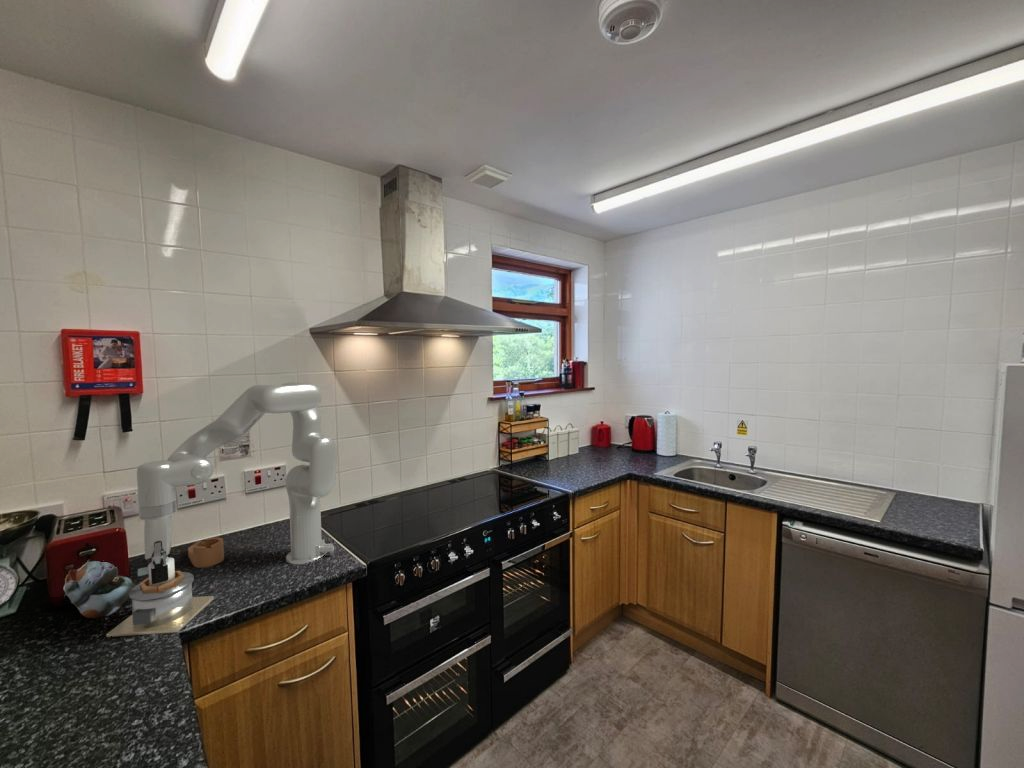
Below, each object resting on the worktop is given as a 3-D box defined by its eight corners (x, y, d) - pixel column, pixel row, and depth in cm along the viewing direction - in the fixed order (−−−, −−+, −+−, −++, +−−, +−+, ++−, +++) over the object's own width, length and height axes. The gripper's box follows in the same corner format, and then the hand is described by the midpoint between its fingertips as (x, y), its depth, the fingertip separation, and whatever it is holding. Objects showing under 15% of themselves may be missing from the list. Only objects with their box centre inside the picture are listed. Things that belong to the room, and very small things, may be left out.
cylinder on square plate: (213, 599, 119) (212, 563, 119) (177, 634, 104) (175, 592, 104) (152, 603, 118) (150, 566, 117) (106, 638, 103) (103, 596, 102)
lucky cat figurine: (100, 624, 108) (91, 571, 107) (50, 629, 108) (41, 576, 107) (147, 591, 123) (140, 545, 122) (104, 595, 123) (96, 549, 122)
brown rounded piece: (226, 562, 142) (225, 542, 142) (196, 571, 136) (195, 550, 136) (214, 546, 154) (213, 527, 154) (186, 553, 149) (185, 534, 148)
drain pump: (175, 577, 114) (174, 552, 114) (174, 585, 110) (173, 560, 109) (140, 585, 110) (139, 560, 109) (137, 594, 106) (136, 568, 105)
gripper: (143, 503, 114) (146, 565, 115) (134, 523, 100) (138, 593, 101) (178, 498, 119) (181, 557, 119) (174, 516, 105) (178, 583, 105)
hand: (161, 574), depth 110 cm, fingers open, 9 cm apart
